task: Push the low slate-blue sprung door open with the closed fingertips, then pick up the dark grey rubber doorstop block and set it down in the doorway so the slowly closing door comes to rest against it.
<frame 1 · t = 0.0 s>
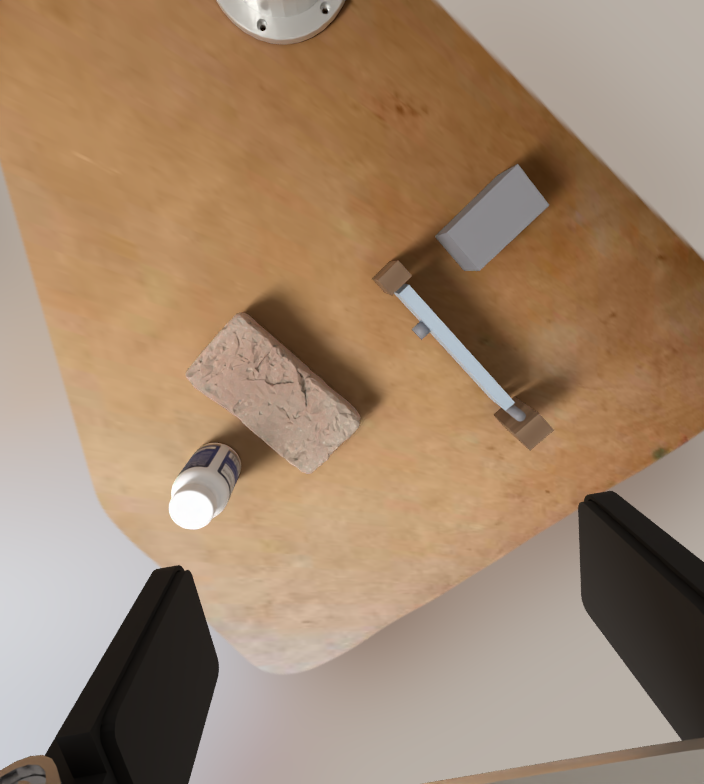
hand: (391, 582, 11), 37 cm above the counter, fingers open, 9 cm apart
door: (454, 356, 44), point 3 cm above the counter, hinge at 0.0°
brick: (281, 388, 48), on the counter
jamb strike: (386, 276, 45), on the counter
brown wooden block: (510, 413, 50), on the counter
doorstop block: (479, 224, 44), on the counter
pill bottle: (217, 463, 50), on the counter
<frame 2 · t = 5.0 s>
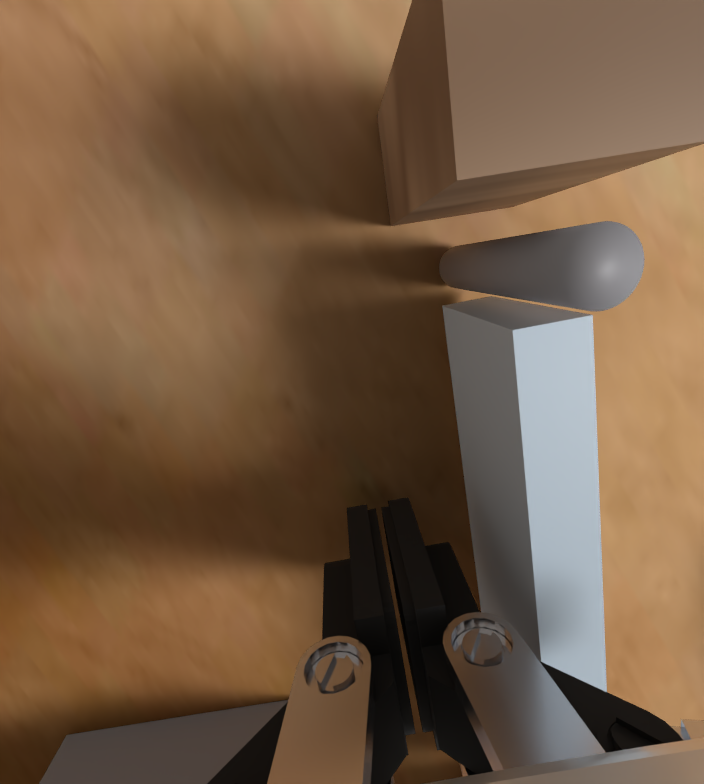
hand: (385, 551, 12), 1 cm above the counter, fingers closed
door: (562, 618, 10), point 3 cm above the counter, hinge at 1.8°, touching gripper
brown wooden block: (447, 162, 11), on the counter
doorstop block: (205, 761, 15), on the counter
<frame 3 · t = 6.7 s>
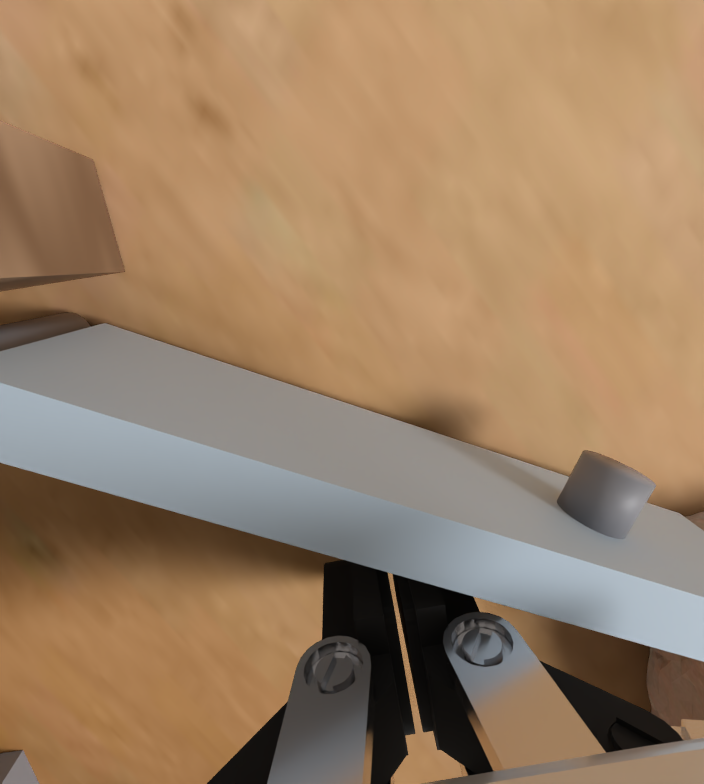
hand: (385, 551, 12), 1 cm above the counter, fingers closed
door: (411, 466, 9), point 3 cm above the counter, hinge at 61.6°, touching gripper
brown wooden block: (44, 227, 10), on the counter
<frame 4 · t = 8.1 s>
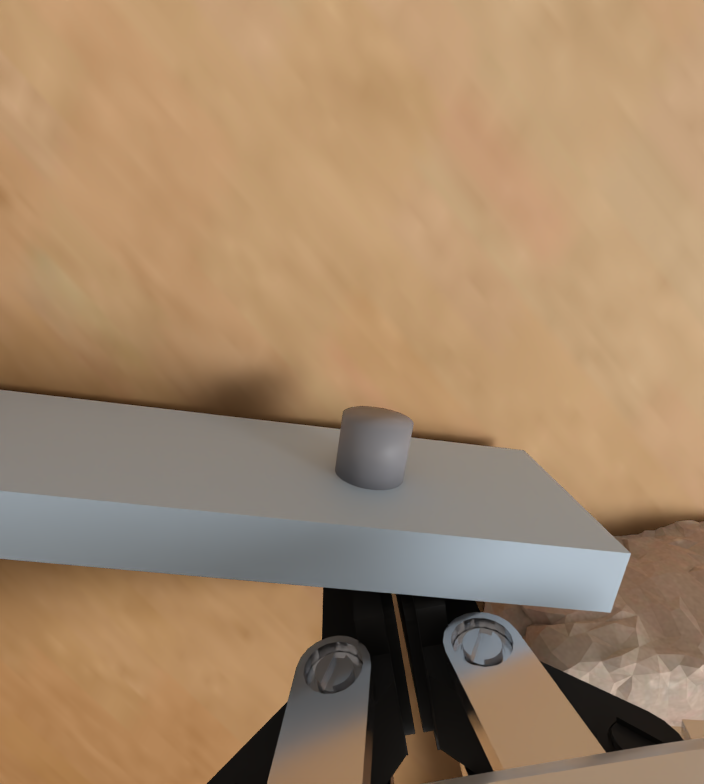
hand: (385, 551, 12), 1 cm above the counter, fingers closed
door: (157, 457, 9), point 3 cm above the counter, hinge at 72.8°, touching gripper
brick: (604, 724, 16), on the counter
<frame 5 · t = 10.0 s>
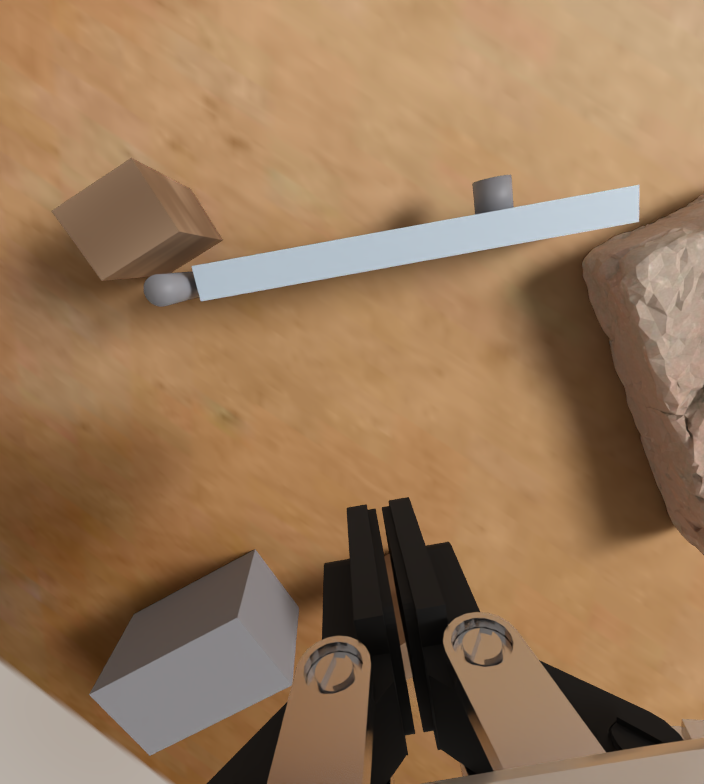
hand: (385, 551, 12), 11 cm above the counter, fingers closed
door: (389, 232, 17), point 3 cm above the counter, hinge at 70.0°
brick: (692, 370, 23), on the counter
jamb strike: (395, 566, 25), on the counter
brown wooden block: (178, 233, 20), on the counter
doorstop block: (217, 609, 26), on the counter
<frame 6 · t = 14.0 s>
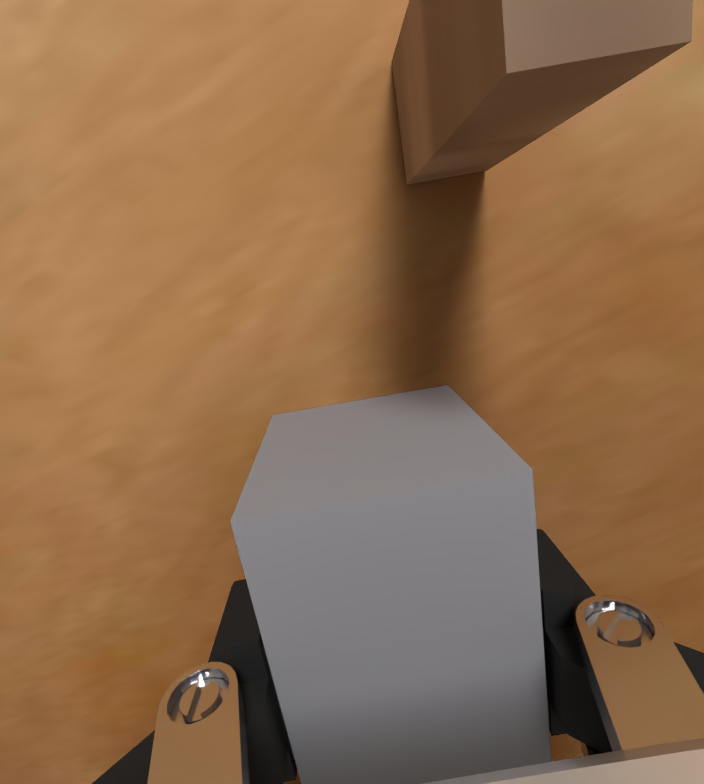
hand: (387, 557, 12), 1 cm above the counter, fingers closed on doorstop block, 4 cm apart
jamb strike: (440, 118, 10), on the counter
doorstop block: (383, 536, 13), on the counter, touching gripper
when the fingers open (1 cm above the counter, at t = 19.3 s): doorstop block stays where it is, on the counter.
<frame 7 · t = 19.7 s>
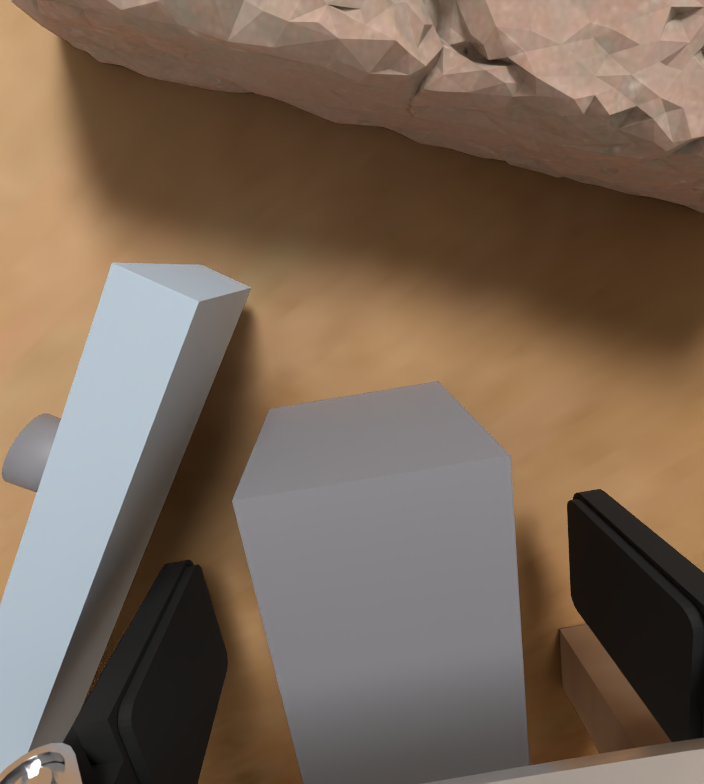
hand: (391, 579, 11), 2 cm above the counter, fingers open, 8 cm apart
door: (25, 641, 9), point 3 cm above the counter, hinge at 55.3°, touching gripper
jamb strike: (588, 654, 15), on the counter
doorstop block: (374, 524, 13), on the counter
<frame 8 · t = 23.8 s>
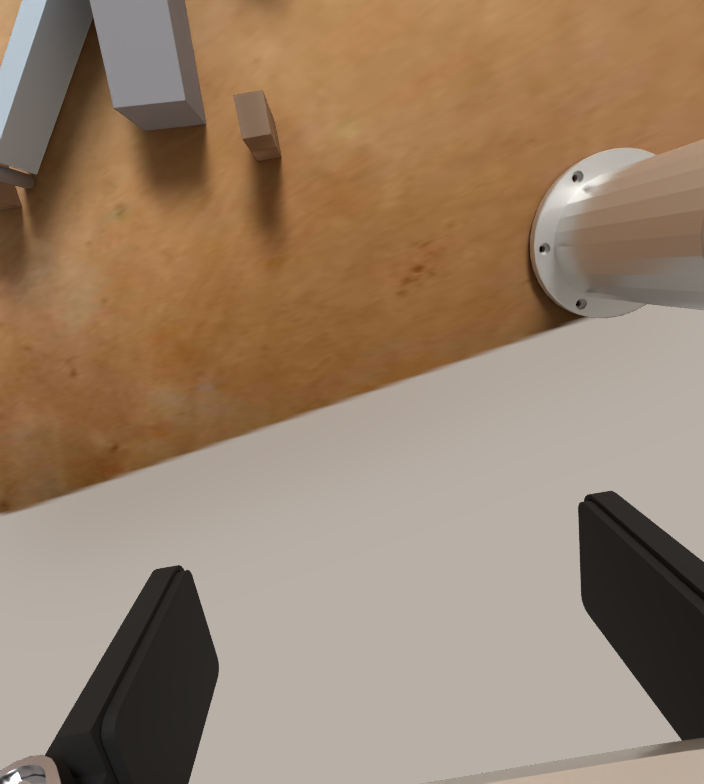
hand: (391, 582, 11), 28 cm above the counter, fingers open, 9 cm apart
door: (29, 49, 28), point 3 cm above the counter, hinge at 51.5°
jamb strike: (265, 141, 33), on the counter
doorstop block: (164, 65, 32), on the counter
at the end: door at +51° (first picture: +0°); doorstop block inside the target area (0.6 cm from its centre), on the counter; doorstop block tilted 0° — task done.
